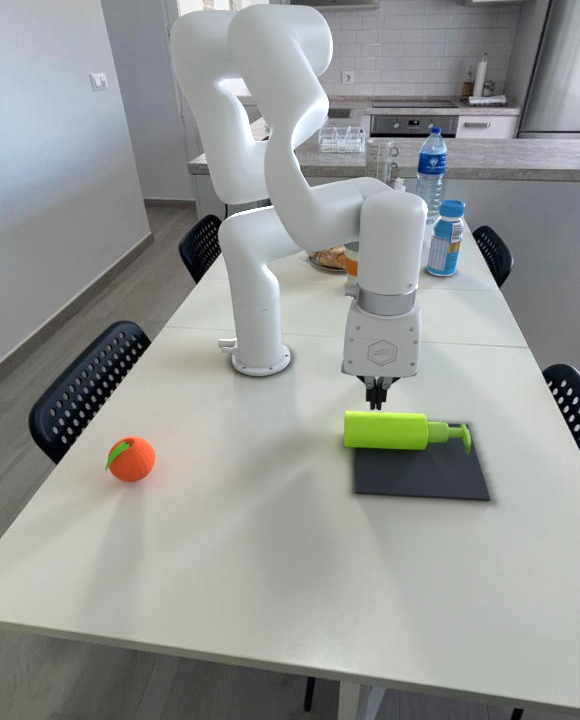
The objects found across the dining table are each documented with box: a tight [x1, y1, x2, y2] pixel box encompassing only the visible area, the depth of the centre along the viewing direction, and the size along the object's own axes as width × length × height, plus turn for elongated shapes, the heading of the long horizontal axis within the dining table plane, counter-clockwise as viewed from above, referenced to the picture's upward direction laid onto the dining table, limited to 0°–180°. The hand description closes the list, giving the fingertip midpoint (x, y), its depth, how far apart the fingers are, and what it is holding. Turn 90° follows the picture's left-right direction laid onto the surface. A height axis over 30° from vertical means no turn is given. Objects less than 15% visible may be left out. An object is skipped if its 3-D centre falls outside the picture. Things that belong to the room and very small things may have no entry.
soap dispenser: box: [343, 410, 472, 454], centre depth 73 cm, size 6×7×20 cm
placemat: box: [354, 422, 491, 502], centre depth 73 cm, size 20×16×1 cm
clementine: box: [105, 435, 156, 483], centre depth 69 cm, size 8×7×7 cm
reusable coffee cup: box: [342, 241, 359, 286], centre depth 121 cm, size 12×13×15 cm
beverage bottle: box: [426, 199, 466, 277], centre depth 127 cm, size 8×8×20 cm
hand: (375, 403), depth 68 cm, fingers closed
